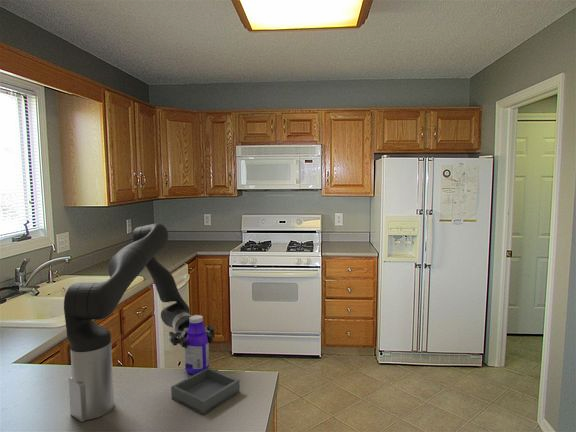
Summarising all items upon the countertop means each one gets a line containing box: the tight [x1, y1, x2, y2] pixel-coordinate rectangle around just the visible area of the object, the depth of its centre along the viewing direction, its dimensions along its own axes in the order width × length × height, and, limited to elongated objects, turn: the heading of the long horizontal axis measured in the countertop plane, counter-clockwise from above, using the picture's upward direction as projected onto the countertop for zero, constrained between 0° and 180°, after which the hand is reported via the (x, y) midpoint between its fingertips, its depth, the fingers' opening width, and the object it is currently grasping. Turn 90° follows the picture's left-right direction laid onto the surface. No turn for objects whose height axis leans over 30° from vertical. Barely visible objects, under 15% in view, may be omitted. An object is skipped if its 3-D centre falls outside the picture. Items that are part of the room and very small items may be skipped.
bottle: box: [184, 314, 210, 375], centre depth 115 cm, size 7×6×17 cm
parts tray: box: [170, 367, 241, 416], centre depth 101 cm, size 13×13×4 cm
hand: (198, 342), depth 113 cm, fingers closed on bottle, 7 cm apart
